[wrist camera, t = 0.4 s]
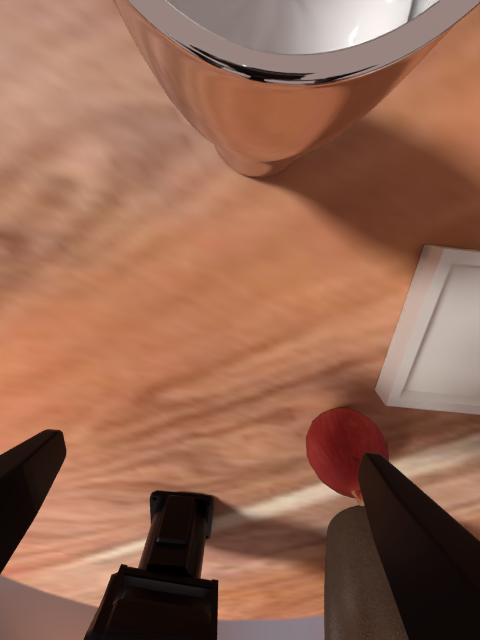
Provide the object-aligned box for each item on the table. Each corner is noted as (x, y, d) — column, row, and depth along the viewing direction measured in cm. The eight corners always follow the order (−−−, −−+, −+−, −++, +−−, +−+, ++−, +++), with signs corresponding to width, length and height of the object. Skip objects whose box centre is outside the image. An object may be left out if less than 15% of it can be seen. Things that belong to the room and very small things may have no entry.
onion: (376, 396, 24) (435, 483, 16) (349, 444, 26) (390, 541, 18) (311, 380, 23) (342, 462, 16) (289, 431, 25) (307, 524, 18)
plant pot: (455, 483, 27) (702, 811, 12) (411, 570, 33) (545, 867, 18) (304, 474, 27) (372, 791, 12) (286, 562, 33) (319, 852, 18)
